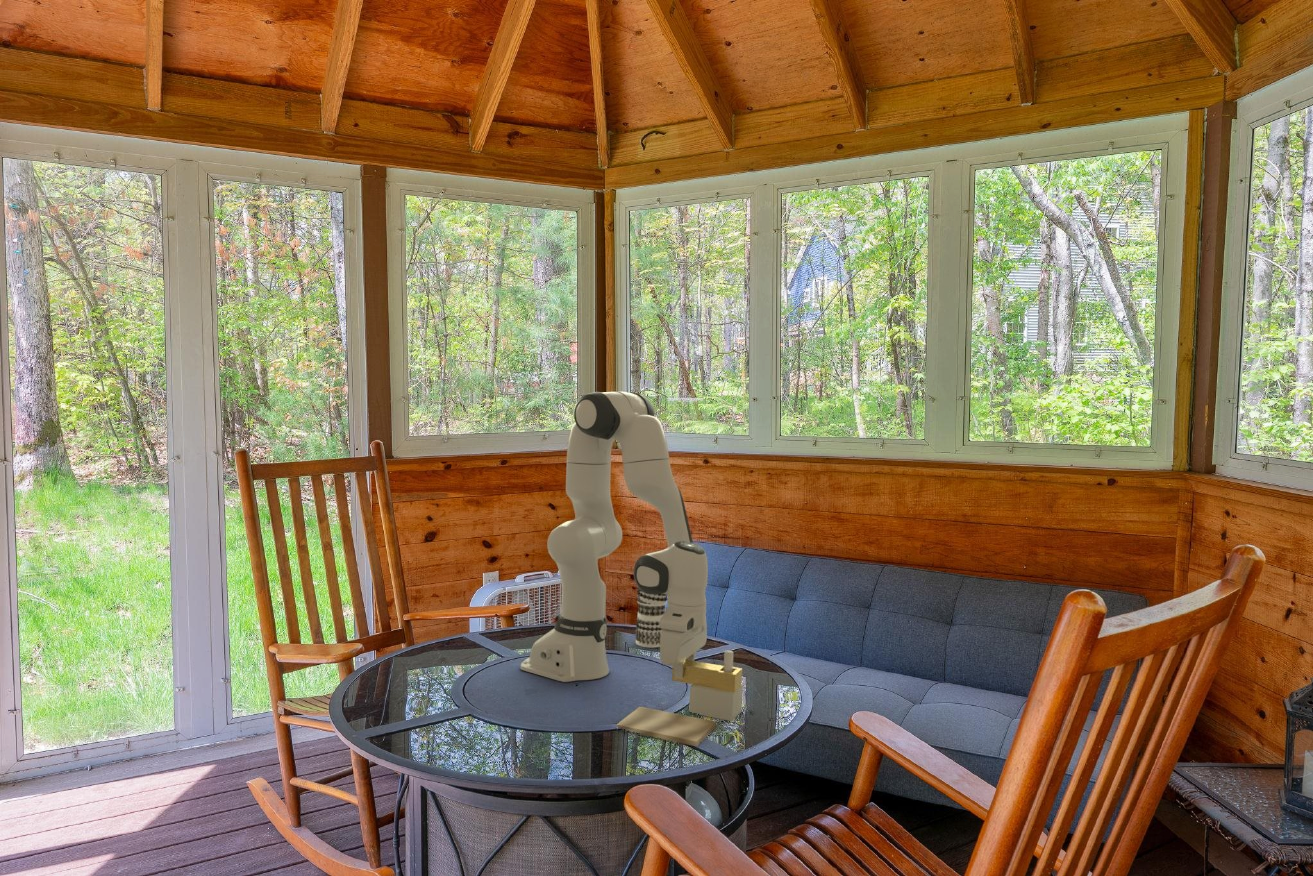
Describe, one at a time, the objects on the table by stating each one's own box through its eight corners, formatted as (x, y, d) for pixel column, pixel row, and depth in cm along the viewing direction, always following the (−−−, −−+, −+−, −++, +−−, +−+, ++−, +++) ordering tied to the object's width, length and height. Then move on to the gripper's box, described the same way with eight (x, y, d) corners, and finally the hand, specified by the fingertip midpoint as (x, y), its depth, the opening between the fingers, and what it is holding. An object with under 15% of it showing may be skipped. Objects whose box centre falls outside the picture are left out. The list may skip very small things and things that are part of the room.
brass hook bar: (671, 681, 192) (671, 663, 192) (679, 674, 197) (680, 657, 196) (734, 692, 186) (735, 674, 186) (741, 686, 191) (742, 668, 191)
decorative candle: (631, 646, 238) (634, 557, 237) (637, 637, 247) (641, 552, 246) (663, 649, 236) (667, 560, 235) (668, 640, 245) (672, 554, 244)
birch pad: (616, 729, 178) (616, 724, 178) (639, 710, 189) (640, 706, 189) (696, 746, 171) (696, 741, 171) (716, 726, 182) (716, 721, 182)
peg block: (688, 712, 189) (691, 650, 189) (699, 702, 196) (702, 642, 195) (731, 721, 185) (734, 657, 185) (741, 710, 192) (744, 649, 191)
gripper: (689, 603, 204) (687, 660, 204) (656, 622, 185) (653, 685, 185) (714, 606, 201) (711, 664, 202) (683, 626, 182) (680, 690, 183)
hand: (683, 674), depth 193 cm, fingers closed on brass hook bar, 4 cm apart
